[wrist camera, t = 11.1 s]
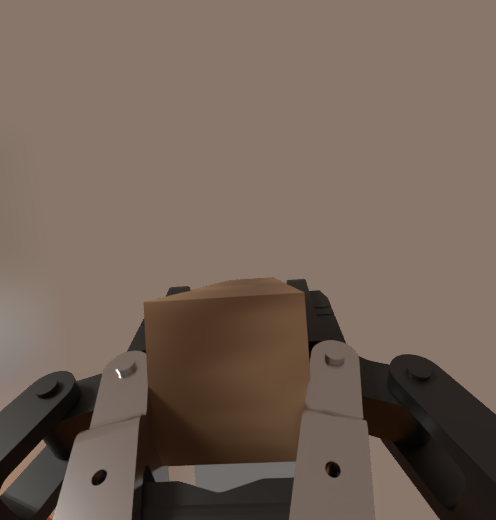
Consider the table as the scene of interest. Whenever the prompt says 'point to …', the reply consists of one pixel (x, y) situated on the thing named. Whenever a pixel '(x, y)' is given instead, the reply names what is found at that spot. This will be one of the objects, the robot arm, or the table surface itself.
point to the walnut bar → (227, 372)
